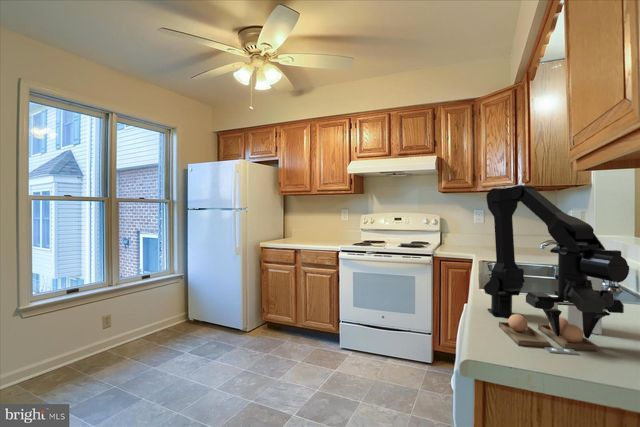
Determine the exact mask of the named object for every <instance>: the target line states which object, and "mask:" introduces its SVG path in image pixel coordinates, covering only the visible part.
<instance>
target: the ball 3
mask: <svg viewBox="0 0 640 427" xmlns="http://www.w3.org/2000/svg"><path fill="white" fill-rule="evenodd" d="M561 335H562V337H563V338H564V339H565V340H567V341H568V342H571V343H578V342H580V341H581V340H582V339H583V337H584V332H583V331H582V330H581V329H580V328H579V327H578V326H576V325H574V324H566V325H564V326H563V327H562V328H561Z"/></svg>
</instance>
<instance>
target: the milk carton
mask: <svg viewBox="0 0 640 427" xmlns="http://www.w3.org/2000/svg"><path fill="white" fill-rule="evenodd" d="M588 280H591V283H592V288H593V290H599V291H600V290H603V279H598V278H593V277H589V276H588ZM567 302H569V301H567ZM566 320H567V321H568V322H569V324H574V325H576V326H578V327H579V328H580V329H581V330H582V332H583V318H582V312H581V311H579V310H578V309H577V308H576V306H569V305H567V319H566ZM602 320H603V317H602V318H601V319H599V321H598V322H597V324H596V326H595V327H594V329H593V331H592V333H591V334H595V335H602V333H603V332H602V330H603V329H602V328H603V326H602V325H603V321H602Z"/></svg>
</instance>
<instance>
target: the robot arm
mask: <svg viewBox="0 0 640 427" xmlns="http://www.w3.org/2000/svg"><path fill="white" fill-rule="evenodd" d="M520 202H521V203H522V204H523V205H525V207H526V208H527V209H529V210H530V211H531V212H532V213H533V214H534V215H535V216H537V217H538V218H539V220H541V221H542V222H543V223H544V224H545V226H547V227H546V228H547V231H548V233H549V235H550V237H551V238H552V240H554V241H555V243H556V244H557V245H555V246H554V247H552V248H551V249H550V250H549V251H550V253H552V254H557V255H558V257H557V258H558V259H557V260H558V261H557V265H558V266H557V268H558V269H557V274H555V280H556V281H557V290H555V291H554V295H555V296H551V295H549V294H547V293H545V292H542V291H541V292H539V291H537V292H536V291H528V292H527V293H526V295H525V303H526V304H528V305H530V306H531V307H533V308H535V309H537V310H541V309H542V310H543V312H544V313H545V316H546V318H547V319H548V320H547V321H549V322H550V324H551V326H552V329H553V331H554V333H555V335H556V336H559V333H560V324H559V317H561V314H562V313H563V311H561V310H560V309H559V307H558V306H568V305H569V306H576V308H577V309H578V310H579V311H581V312H582V318H583V331H582V332H583V337H584V338H586V339H589V338H590V337H591V336H592V334H593V333H592V331H593V329H594V327H595V326H596V324H597V322H598V321H599V319H601V318H602V319H603V318H605V317H606V316H610V315H611V314H612V313H613V314H614V313H616V314H624V311H625V305H624V303H623V302H622V301H621V300H620V299H618V298H615V297H614V293H613V292H612V291H611V290H610V289H609V290H606V289H602V290H600V291H599V290H593V288H592V283H591V280H588V276H589V277H593V278H598V279H602V281H603V280H604V281H608V282H612V283H613V282H614V283H622V282H624V281H625V280H626V279H627V278H628V276H629V274H630V265H629V264H628V261H627V260H626V258H625V257H623V256H622V251H621V250H616V249H612V250H611V249H610V250H609V249H606V248H605V246H604V245H603V243H601V242H602V241H600V240H599V238H598V237H597V235H596V234H595V233H594V228H593V227H592V225H591V224H589V223H587V222H585V221H584V220H582V219H580V218H578V217H575V216H573V215H569V214H567V213H565V212H564V211H562V210H561V209H560V208H558V207H557V206H556V204H554V203H553V202H551V201H550V200H549V199H547V198H546V197H545V196H544V195H543V194H541V193H540V192H539V191H537V189H536V187H535V186H533V185H529V184H527V185H525V184H518V185H514V186H510V187H504V188H501V187H494V188H491V189H490V190H489V191H488V192H487V193H486V203H487V208H488V211H490V213H491V214H492V216H493V219H494V238H495V239H494V240H495V241H494V242H495V257H496V262H495V264H494V266H493V267H492V269H491V272H490V273H491V275H490V279H489V280H488V281H487V282H486V283H485V285H484V286H483V290H484V293H485V294H486V295H489V296H491V298H490V299H491V305H490V306H491V308H487V309H486V310H487V311H488V312H489V313H490V314H491V315H492V316H494V317H504V318H509V317H510V316H511V315H514V314H515V313H514V312H513V296H519V295H520V293H521V291H522V289H523V287H524V283H525V277H524V275H525V274H524V273H525V270H524V269H523V268H519V267H518V265H517V263H516V257H515V240H514V226H513V225H514V224H513V223H514V222H513V215H514V214H515V212H516V211H517V209H518V203H520ZM568 301H569V302H568Z"/></svg>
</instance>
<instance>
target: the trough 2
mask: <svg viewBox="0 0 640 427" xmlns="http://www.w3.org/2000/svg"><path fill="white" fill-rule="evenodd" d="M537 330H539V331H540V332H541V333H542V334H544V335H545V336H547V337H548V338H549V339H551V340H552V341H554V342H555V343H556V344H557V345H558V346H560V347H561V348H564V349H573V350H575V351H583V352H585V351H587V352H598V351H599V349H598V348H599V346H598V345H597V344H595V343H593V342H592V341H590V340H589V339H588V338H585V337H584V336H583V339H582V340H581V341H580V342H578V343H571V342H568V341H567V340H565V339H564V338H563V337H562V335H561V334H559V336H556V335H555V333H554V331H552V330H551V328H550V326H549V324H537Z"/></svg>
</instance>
